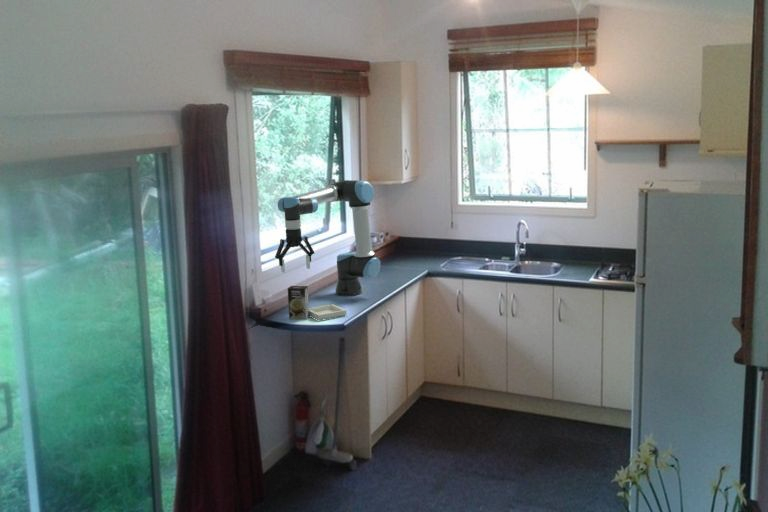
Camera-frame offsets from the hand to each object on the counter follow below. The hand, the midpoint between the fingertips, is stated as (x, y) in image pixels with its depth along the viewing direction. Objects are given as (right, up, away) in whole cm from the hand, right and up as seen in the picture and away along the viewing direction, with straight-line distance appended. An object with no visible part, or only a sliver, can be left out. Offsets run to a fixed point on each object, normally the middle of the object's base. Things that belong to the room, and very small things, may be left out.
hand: (295, 270), depth 371 cm
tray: (+14, -23, +7) cm, 28 cm away
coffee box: (+1, -24, +5) cm, 25 cm away
